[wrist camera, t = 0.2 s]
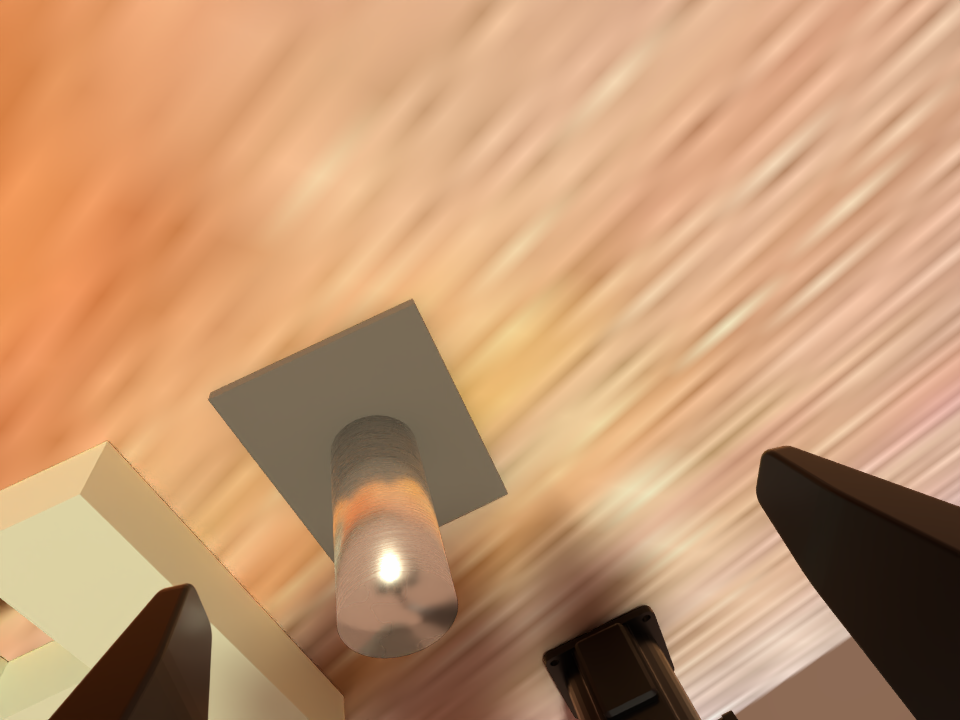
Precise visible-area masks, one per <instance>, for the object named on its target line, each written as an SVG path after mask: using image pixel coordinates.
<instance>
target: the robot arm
mask: <svg viewBox="0 0 960 720" xmlns="http://www.w3.org/2000/svg"><path fill="white" fill-rule="evenodd" d="M756 494H757V498H758V501H759V503H760V505H761V506H762V508H763V510H764V511H765V513H766V514H767V516H768V517H769V519H770V521H771V522H772V524H773V525H774V527H775V529H776V530H777V532H778V533H779V535H780V536H781V538H782V540H783V541H784V543H785V544H786V546H787V547H788V549H789V551H790V552H791V554H792V555H793V557H794V558H795V560H796V562H797V563H798V565H799V566H800V568H801V569H802V571H803V572H804V574H805V575H806V577H807V578H808V580H809V581H810V583H811V584H812V585H813V587H814V588H815V589H816V591H817V592H818V594H819V595H820V596H821V597H822V599H823V600H824V601H825V603H826V604H827V605H828V606H829V608H830V609H831V610H832V612H833V613H834V614H835V615H836V617H837V618H838V619H839V621H840V622H841V623H842V624H843V626H844V627H845V628H846V630H847V631H848V632H849V633H850V635H851V636H852V637H853V639H854V640H855V641H856V642H857V644H858V645H859V646H860V648H861V649H862V650H863V651H864V653H865V654H866V655H867V657H868V658H869V659H870V660H871V662H872V663H873V664H874V666H875V667H876V668H877V669H878V671H879V672H880V673H881V674H882V676H883V677H884V678H885V680H886V681H887V682H888V684H889V685H890V686H891V687H892V689H893V690H894V691H895V693H896V694H897V695H898V696H899V698H900V699H901V700H902V702H903V703H904V704H905V705H906V707H907V708H908V709H909V710H910V712H911V713H912V714H913V716H914V717H915V718H916V720H960V507H959V506H956V505H953V504H951V503H948V502H945V501H942V500H939V499H937V498H934V497H931V496H928V495H926V494H923V493H920V492H917V491H914V490H912V489H909V488H906V487H903V486H900V485H898V484H895V483H892V482H889V481H886V480H884V479H881V478H878V477H875V476H873V475H870V474H867V473H864V472H861V471H859V470H856V469H853V468H850V467H847V466H845V465H842V464H839V463H836V462H834V461H831V460H828V459H825V458H822V457H820V456H817V455H814V454H811V453H808V452H806V451H803V450H800V449H797V448H795V447H792V446H782V447H777V448H773V449H769V450H766V451H765V452H764V453H763V454H762V456H761V461H760V467H759V473H758V479H757V486H756ZM211 648H212V631H211V625H210V621H209V619H208V616H207V614H206V612H205V609H204V607H203V605H202V602H201V600H200V598H199V595H198V593H197V591H196V589H195V587H194V586H193V585H192V584H189V583H185V584H181V585H176V586H172V587H167V588H164V589H161V590H160V591H159V592H157V593H156V594H155V595H154V597H153V598H152V599H151V600H150V601H149V602H148V604H147V605H146V606H145V607H144V608H143V609H142V611H141V612H140V613H139V614H138V615H137V616H136V618H135V619H134V620H133V621H132V622H131V623H130V625H129V626H128V627H127V628H126V629H125V630H124V632H123V633H122V634H121V635H120V636H119V637H118V639H117V640H116V641H115V642H114V643H113V644H112V646H111V647H110V648H109V649H108V650H107V651H106V653H105V654H104V655H103V656H102V657H101V658H100V660H99V661H98V662H97V663H96V664H95V665H94V667H93V668H92V669H91V670H90V671H89V672H88V674H87V675H86V676H85V677H84V678H83V679H82V681H81V682H80V683H79V684H78V685H77V686H76V688H75V689H74V690H73V691H72V692H71V693H70V695H69V696H68V697H67V698H66V699H65V700H64V702H63V703H62V704H61V705H60V706H59V707H58V709H57V710H56V711H55V712H54V713H53V714H52V716H51V717H50V718H49V719H48V720H208V710H209V690H210V669H211ZM543 659H544V662H545V665H546V667H547V669H548V671H549V673H550V674H551V676H552V678H553V680H554V681H555V683H556V685H557V687H558V689H559V690H560V692H561V694H562V696H563V697H564V699H565V701H566V703H567V705H568V706H569V708H570V710H571V712H572V713H573V715H574V717H575V718H577V719H579V720H701V718H700V717H699V715H698V713H697V711H696V710H695V708H694V706H693V704H692V703H691V701H690V699H689V697H688V696H687V694H686V692H685V691H684V689H683V687H682V685H681V684H680V682H679V680H678V678H677V677H676V675H675V673H674V666H673V663H672V660H671V658H670V655H669V652H668V649H667V647H666V644H665V641H664V638H663V636H662V633H661V630H660V628H659V625H658V622H657V619H656V617H655V614H654V612H653V611H652V609H651V608H650V606H642V607H640V608H638V609H636V610H634V611H632V612H630V613H627V614H625V615H623V616H621V617H619V618H617V619H615V620H613V621H611V622H609V623H607V624H605V625H603V626H601V627H599V628H597V629H595V630H592V631H590V632H588V633H586V634H584V635H582V636H580V637H578V638H576V639H574V640H572V641H570V642H568V643H566V644H564V645H562V646H560V647H558V648H555V649H553V650H551V651H549V652H548V653H546V654H545V656H544V658H543ZM718 720H738V719H737V718H736V716H735V715H734V713H733V712H732V711H729V712H727V713H725V714H723V715H722V718H720V719H718Z"/></svg>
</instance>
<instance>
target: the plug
mask: <svg viewBox="0 0 960 720" xmlns="http://www.w3.org/2000/svg"><path fill="white" fill-rule="evenodd" d="M330 459H331V485H332V511H333V537H334V563H335V589H336V615H337V630H338V634H339V636H340V638H341V639H342V641H343V642H344V643H345V644H346V645H347V646H348V647H349V648H350V649H352V650H353V651H355V652H357V653H359V654H362V655H365V656H369V657H375V658H395V657H401V656H405V655H409V654H412V653H415V652H418V651H420V650H422V649H424V648H426V647H428V646H430V645H431V644H433V643H435V642H436V641H437V640H438V639H440V638H441V637H442V636H443V635H444V634H445V633H446V632H447V631H448V629H449V628H450V627H451V625H452V624H453V622H454V620H455V618H456V615H457V611H458V600H457V596H456V592H455V588H454V584H453V581H452V577H451V573H450V569H449V565H448V561H447V557H446V553H445V550H444V546H443V542H442V538H441V534H440V530H439V526H438V522H437V519H436V515H435V511H434V507H433V503H432V499H431V495H430V491H429V488H428V484H427V480H426V476H425V472H424V468H423V464H422V460H421V457H420V453H419V449H418V445H417V441H416V438H415V436H414V433H413V432H412V430H411V429H410V428H409V427H408V426H407V425H406V424H404V423H403V422H401V421H400V420H398V419H395V418H392V417H389V416H383V415H373V416H366V417H362V418H359V419H357V420H354V421H353V422H351V423H349V424H348V425H346V426H345V427H344V428H343V429H342V430H341V431H340V432H339V433H338V434H337V435H336V437H335V439H334V441H333V443H332V446H331V451H330Z"/></svg>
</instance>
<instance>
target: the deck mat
mask: <svg viewBox="0 0 960 720" xmlns="http://www.w3.org/2000/svg"><path fill="white" fill-rule="evenodd" d="M208 400H209V401H210V403H211V404H212V405H213V407H214V408H215V409H216V411H217V412H218V413H219V414H220V416H221V417H222V418H223V420H224V421H225V422H226V424H227V425H228V426H229V427H230V429H231V430H232V431H233V433H234V434H235V435H236V436H237V438H238V439H239V440H240V442H241V443H242V444H243V446H244V447H245V448H246V449H247V451H248V452H249V453H250V455H251V456H252V457H253V459H254V460H255V461H256V462H257V464H258V465H259V466H260V468H261V469H262V470H263V472H264V473H265V474H266V475H267V477H268V478H269V479H270V481H271V482H272V483H273V484H274V486H275V487H276V488H277V490H278V491H279V492H280V494H281V495H282V496H283V497H284V499H285V500H286V501H287V503H288V504H289V505H290V507H291V508H292V509H293V510H294V512H295V513H296V514H297V516H298V517H299V518H300V520H301V521H302V522H303V523H304V525H305V526H306V527H307V529H308V530H309V531H310V532H311V534H312V535H313V536H314V538H315V539H316V540H317V542H318V543H319V544H320V545H321V547H322V548H323V549H324V551H325V552H326V553H327V555H328V556H329V557H330V558H331V560H332V561H333V562H334V537H333V511H332V485H331V459H330V451H331V446H332V443H333V441H334V439H335V437H336V435H337V434H338V433H339V432H340V431H341V430H342V429H343V428H344V427H345V426H346V425H348V424H349V423H351V422H353V421H354V420H357V419H359V418H362V417H366V416H373V415H383V416H389V417H392V418H395V419H398V420H400V421H401V422H403V423H404V424H406V425H407V426H408V427H409V428H410V429H411V430H412V432H413V433H414V436H415V438H416V441H417V445H418V449H419V453H420V457H421V460H422V464H423V468H424V472H425V476H426V480H427V484H428V488H429V491H430V495H431V499H432V503H433V507H434V511H435V515H436V519H437V522H438V526H439V527H440V526H442V525H444V524H446V523H448V522H450V521H452V520H454V519H456V518H458V517H461V516H463V515H465V514H467V513H469V512H471V511H473V510H475V509H477V508H479V507H482V506H484V505H486V504H488V503H490V502H492V501H494V500H496V499H498V498H500V497H502V496H505V495H507V494H508V493H507V490H506V488H505V486H504V484H503V482H502V480H501V478H500V476H499V474H498V472H497V470H496V468H495V466H494V464H493V461H492V459H491V457H490V455H489V453H488V451H487V449H486V447H485V445H484V443H483V441H482V439H481V437H480V435H479V433H478V431H477V429H476V427H475V425H474V423H473V421H472V419H471V417H470V415H469V413H468V411H467V409H466V406H465V404H464V402H463V400H462V398H461V396H460V394H459V392H458V390H457V388H456V386H455V384H454V382H453V380H452V378H451V376H450V374H449V372H448V370H447V368H446V366H445V364H444V362H443V360H442V358H441V356H440V353H439V351H438V349H437V347H436V345H435V343H434V341H433V339H432V337H431V335H430V333H429V331H428V329H427V327H426V325H425V323H424V321H423V319H422V317H421V315H420V313H419V311H418V309H417V307H416V305H415V303H414V301H413V299H411V300H409V301H407V302H404V303H402V304H400V305H398V306H396V307H394V308H392V309H389V310H387V311H385V312H383V313H381V314H379V315H376V316H374V317H372V318H370V319H368V320H366V321H364V322H361V323H359V324H357V325H355V326H353V327H351V328H349V329H346V330H344V331H342V332H340V333H338V334H336V335H334V336H331V337H329V338H327V339H325V340H323V341H321V342H319V343H316V344H314V345H312V346H310V347H308V348H306V349H303V350H301V351H299V352H297V353H295V354H293V355H291V356H288V357H286V358H284V359H282V360H280V361H278V362H276V363H273V364H271V365H269V366H267V367H265V368H263V369H261V370H258V371H256V372H254V373H252V374H250V375H248V376H246V377H243V378H241V379H239V380H237V381H235V382H233V383H230V384H228V385H226V386H224V387H222V388H220V389H218V390H215V391H213V392H211V393H210V396H209V399H208ZM334 564H335V563H334Z"/></svg>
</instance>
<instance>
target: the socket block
mask: <svg viewBox="0 0 960 720" xmlns="http://www.w3.org/2000/svg"><path fill="white" fill-rule="evenodd" d="M185 583H189V584H192V585H193V586H194V587H195V589H196V591H197V593H198V595H199V598H200V600H201V602H202V605H203V607H204V609H205V612H206V614H207V616H208V619H209V621H210V625H211V631H212V648H211V669H210V690H209V710H208V720H345V712H344V696H343V695H342V694H341V693H340V692H339V691H338V690H337V688H336V687H335V686H334V685H333V684H332V683H331V682H330V681H329V680H328V679H327V678H326V677H325V675H324V674H323V673H322V672H321V671H320V670H319V669H318V668H317V667H316V666H315V665H314V664H313V662H312V661H311V660H310V659H309V658H308V657H307V656H306V655H305V654H304V653H303V652H302V651H301V649H300V648H299V647H298V646H297V645H296V644H295V643H294V642H293V641H292V640H291V639H290V638H289V636H288V635H287V634H286V633H285V632H284V631H283V630H282V629H281V628H280V627H279V626H278V625H277V623H276V622H275V621H274V620H273V619H272V618H271V617H270V616H269V615H268V614H267V613H266V612H265V610H264V609H263V608H262V607H261V606H260V605H259V604H258V603H257V602H256V601H255V600H254V599H253V597H252V596H251V595H250V594H249V593H248V592H247V591H246V590H245V589H244V588H243V587H242V586H241V584H240V583H239V582H238V581H237V580H236V579H235V578H234V577H233V576H232V575H231V574H230V573H229V571H228V570H227V569H226V568H225V567H224V566H223V565H222V564H221V563H220V562H219V561H218V560H217V558H216V557H215V556H214V555H213V554H212V553H211V552H210V551H209V550H208V549H207V548H206V547H205V545H204V544H203V543H202V542H201V541H200V540H199V539H198V538H197V537H196V536H195V535H194V534H193V532H192V531H191V530H190V529H189V528H188V527H187V526H186V525H185V524H184V523H183V522H182V521H181V519H180V518H179V517H178V516H177V515H176V514H175V513H174V512H173V511H172V510H171V509H170V508H169V506H168V505H167V504H166V503H165V502H164V501H163V500H162V499H161V498H160V497H159V496H158V495H157V493H156V492H155V491H154V490H153V489H152V488H151V487H150V486H149V485H148V484H147V483H146V482H145V480H144V479H143V478H142V477H141V476H140V475H139V474H138V473H137V472H136V471H135V470H134V469H133V467H132V466H131V465H130V464H129V463H128V462H127V461H126V460H125V459H124V458H123V457H122V456H121V454H120V453H119V452H118V451H117V450H116V449H115V448H114V447H113V446H112V445H111V444H110V443H109V441H106V442H104V443H102V444H100V445H97V446H95V447H93V448H91V449H89V450H87V451H85V452H82V453H80V454H78V455H76V456H74V457H72V458H69V459H67V460H65V461H63V462H61V463H59V464H57V465H54V466H52V467H50V468H48V469H46V470H44V471H42V472H39V473H37V474H35V475H33V476H31V477H29V478H27V479H24V480H22V481H20V482H18V483H16V484H14V485H12V486H9V487H7V488H5V489H3V490H1V491H0V598H1V599H2V600H3V601H5V602H6V603H7V604H9V605H10V606H11V607H12V608H14V609H15V610H16V611H18V612H19V613H20V614H21V615H23V616H24V617H25V618H27V619H28V620H29V621H30V622H32V623H33V624H34V625H35V626H37V627H38V628H39V629H41V630H42V631H43V632H44V633H46V634H47V635H48V636H50V637H51V638H52V639H53V640H54V641H52V642H50V643H48V644H46V645H44V646H42V647H39V648H37V649H35V650H33V651H31V652H29V653H27V654H25V655H23V656H20V657H18V658H16V659H14V660H12V661H10V662H7V661H6V660H4V659H3V658H1V657H0V720H48V719H49V718H50V717H51V716H52V714H53V713H54V712H55V711H56V710H57V709H58V707H59V706H60V705H61V704H62V703H63V702H64V700H65V699H66V698H67V697H68V696H69V695H70V693H71V692H72V691H73V690H74V689H75V688H76V686H77V685H78V684H79V683H80V682H81V681H82V679H83V678H84V677H85V676H86V675H87V674H88V672H89V671H90V670H91V669H92V668H93V667H94V665H95V664H96V663H97V662H98V661H99V660H100V658H101V657H102V656H103V655H104V654H105V653H106V651H107V650H108V649H109V648H110V647H111V646H112V644H113V643H114V642H115V641H116V640H117V639H118V637H119V636H120V635H121V634H122V633H123V632H124V630H125V629H126V628H127V627H128V626H129V625H130V623H131V622H132V621H133V620H134V619H135V618H136V616H137V615H138V614H139V613H140V612H141V611H142V609H143V608H144V607H145V606H146V605H147V604H148V602H149V601H150V600H151V599H152V598H153V597H154V595H155V594H156V593H157V592H159V591H160V590H161V589H164V588H167V587H172V586H176V585H181V584H185Z"/></svg>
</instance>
